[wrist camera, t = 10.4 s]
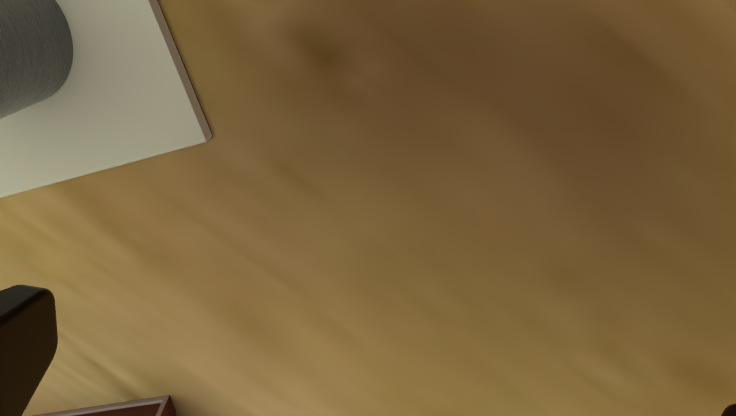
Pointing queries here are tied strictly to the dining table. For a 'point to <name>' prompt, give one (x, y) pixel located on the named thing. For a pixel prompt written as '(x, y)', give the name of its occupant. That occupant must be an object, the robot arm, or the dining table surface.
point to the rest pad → (105, 100)
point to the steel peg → (32, 52)
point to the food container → (125, 409)
